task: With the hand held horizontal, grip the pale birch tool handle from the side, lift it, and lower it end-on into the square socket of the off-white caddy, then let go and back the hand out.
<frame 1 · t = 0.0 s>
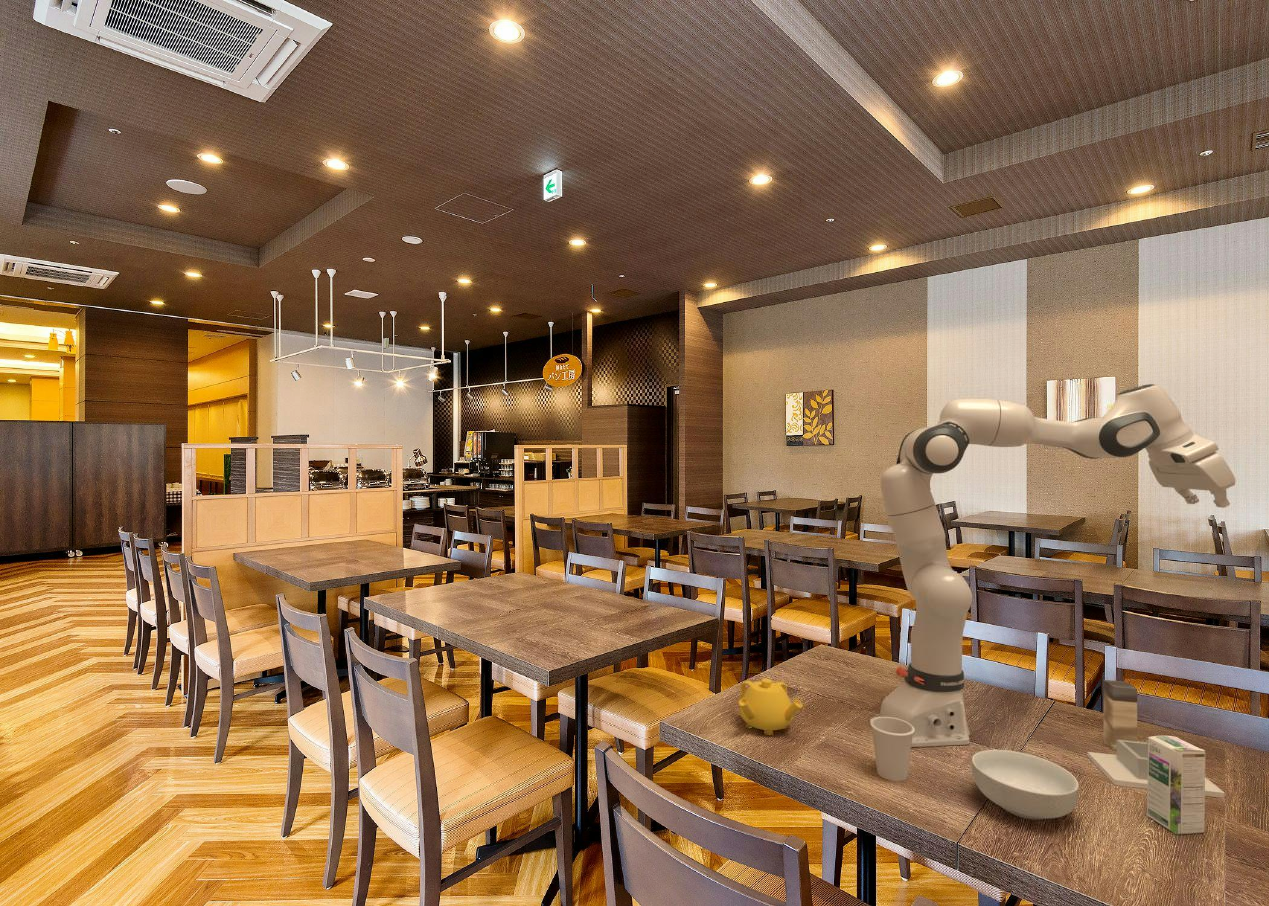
hand: (1208, 504, 138), 54 cm above the table, tool tilted 30°, fingers open, 8 cm apart
cereal bowl: (1023, 808, 115), on the table
dixie cup: (891, 775, 127), on the table
tool handle: (1120, 747, 139), on the table
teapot: (767, 729, 148), on the table
caddy: (1151, 776, 126), on the table
syrup box: (1175, 825, 110), on the table
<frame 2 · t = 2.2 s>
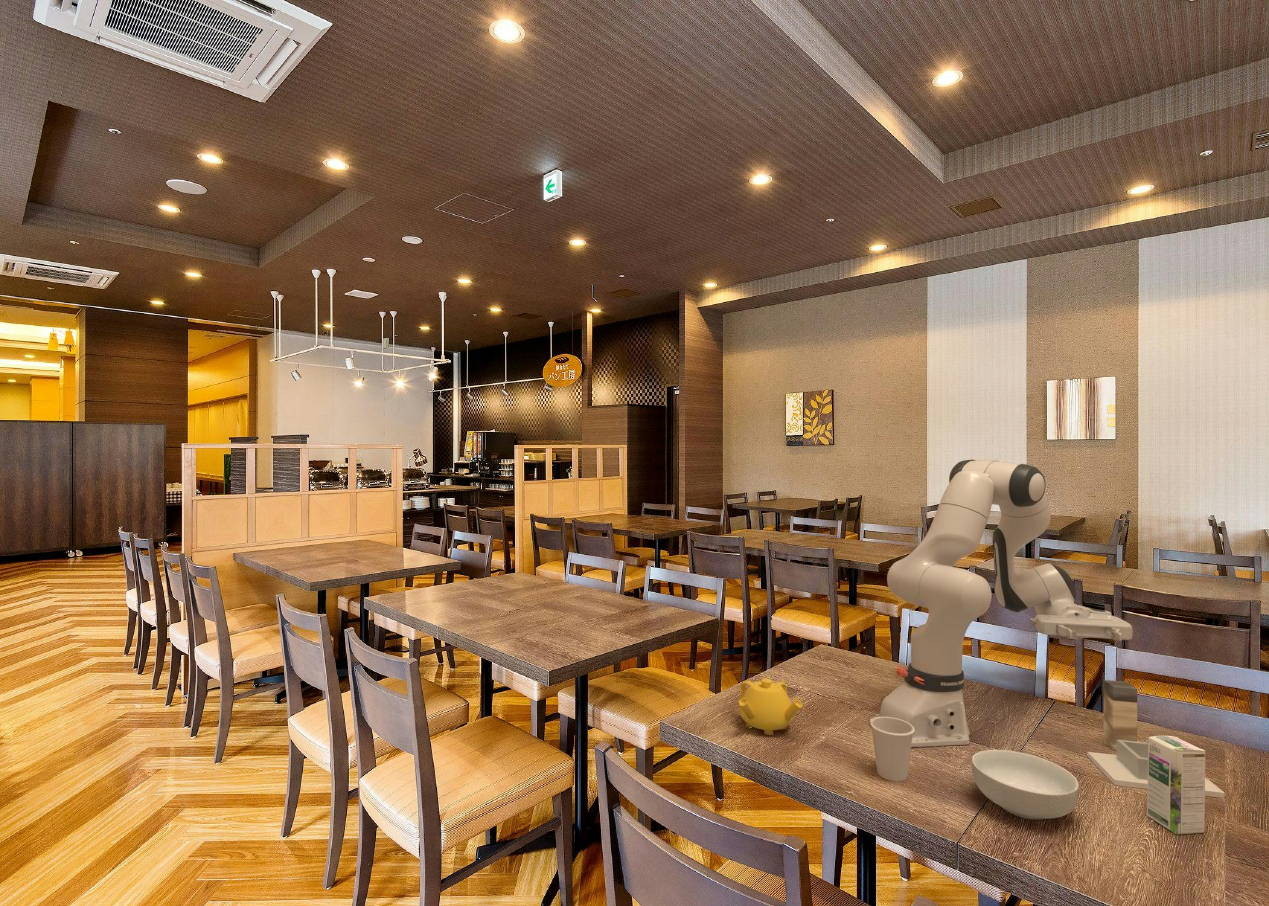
hand: (1095, 636, 151), 21 cm above the table, tool horizontal, fingers open, 8 cm apart
nothing on the table moved.
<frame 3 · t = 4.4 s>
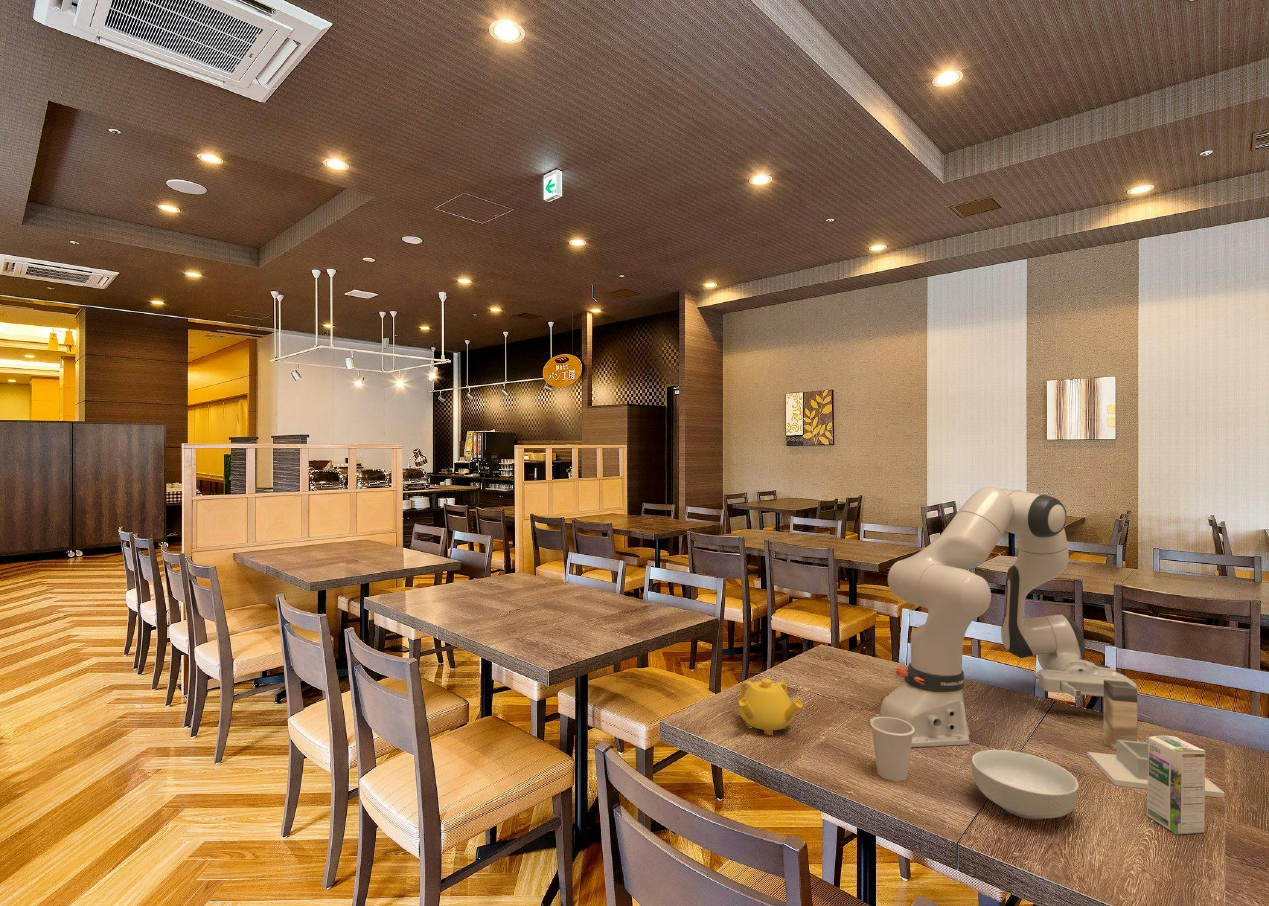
hand: (1100, 696, 148), 8 cm above the table, tool horizontal, fingers open, 8 cm apart
nothing on the table moved.
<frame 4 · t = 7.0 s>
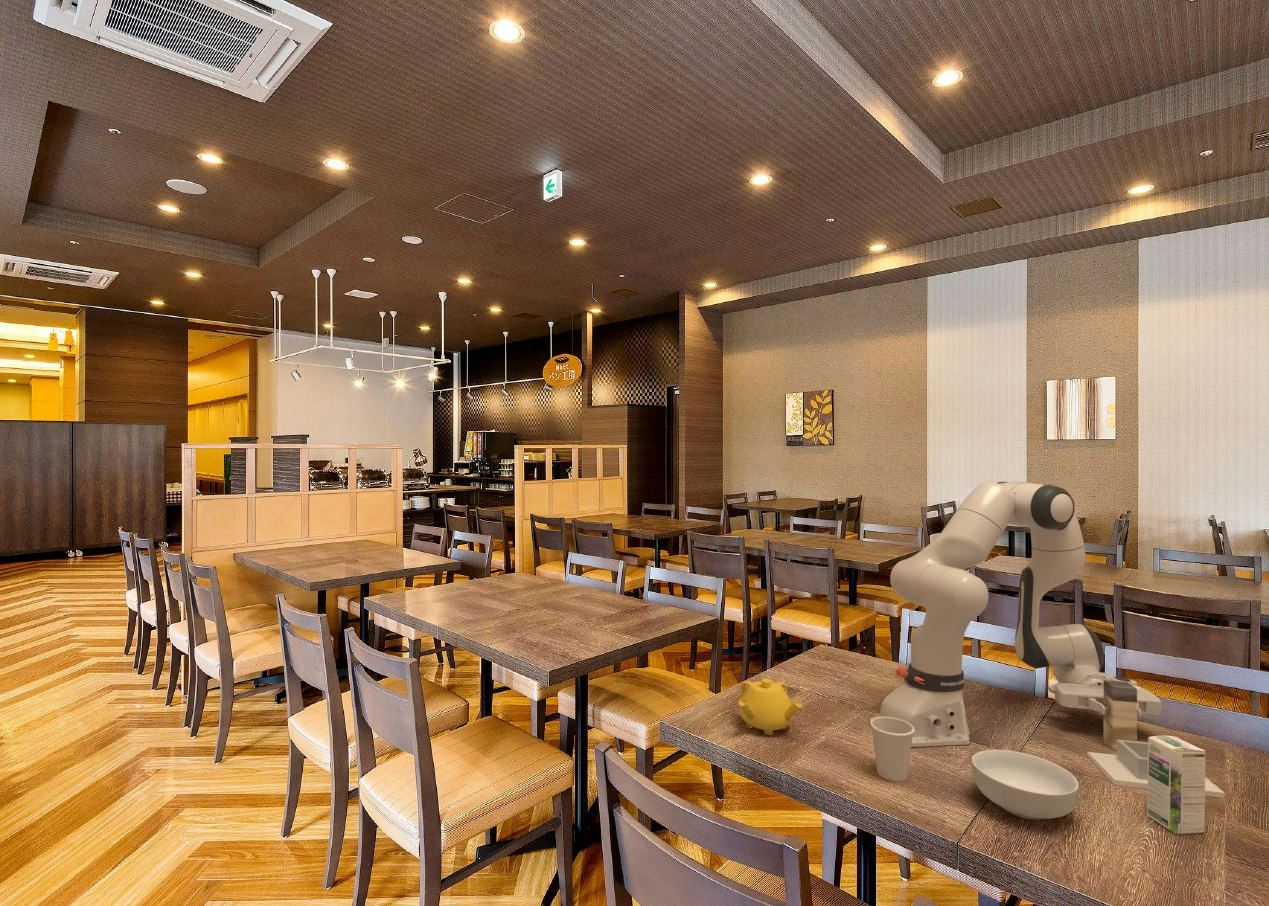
hand: (1122, 712, 138), 8 cm above the table, tool horizontal, fingers closed on tool handle, 4 cm apart
tool handle: (1120, 747, 139), on the table, touching gripper
everything else where it was.
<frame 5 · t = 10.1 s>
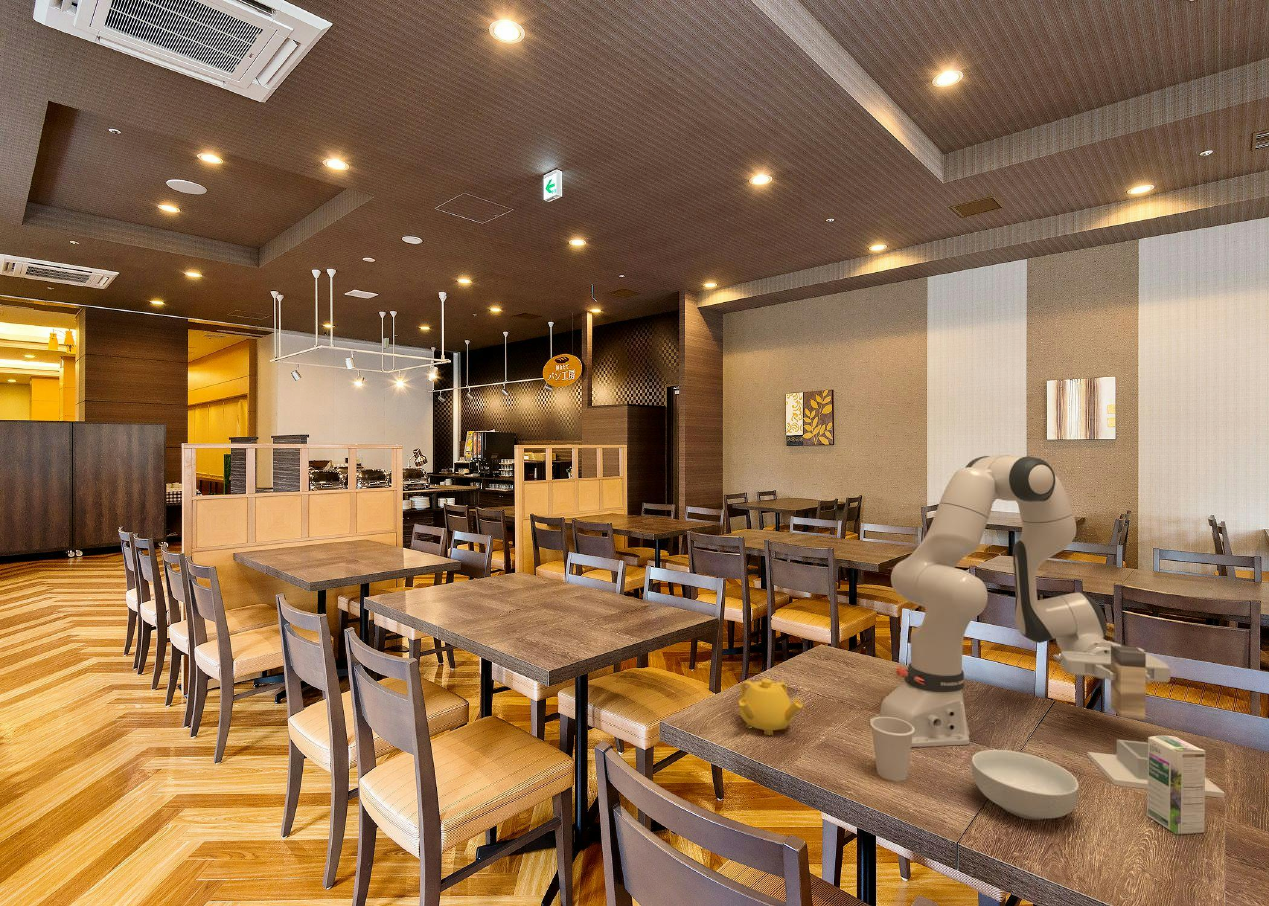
hand: (1130, 678, 135), 17 cm above the table, tool horizontal, fingers closed on tool handle, 4 cm apart
tool handle: (1127, 714, 136), point 9 cm above the table, touching gripper
everything else where it was.
when the fingers open (10 cm above the table, at t = 13.0 s): tool handle stays where it is, resting on caddy.
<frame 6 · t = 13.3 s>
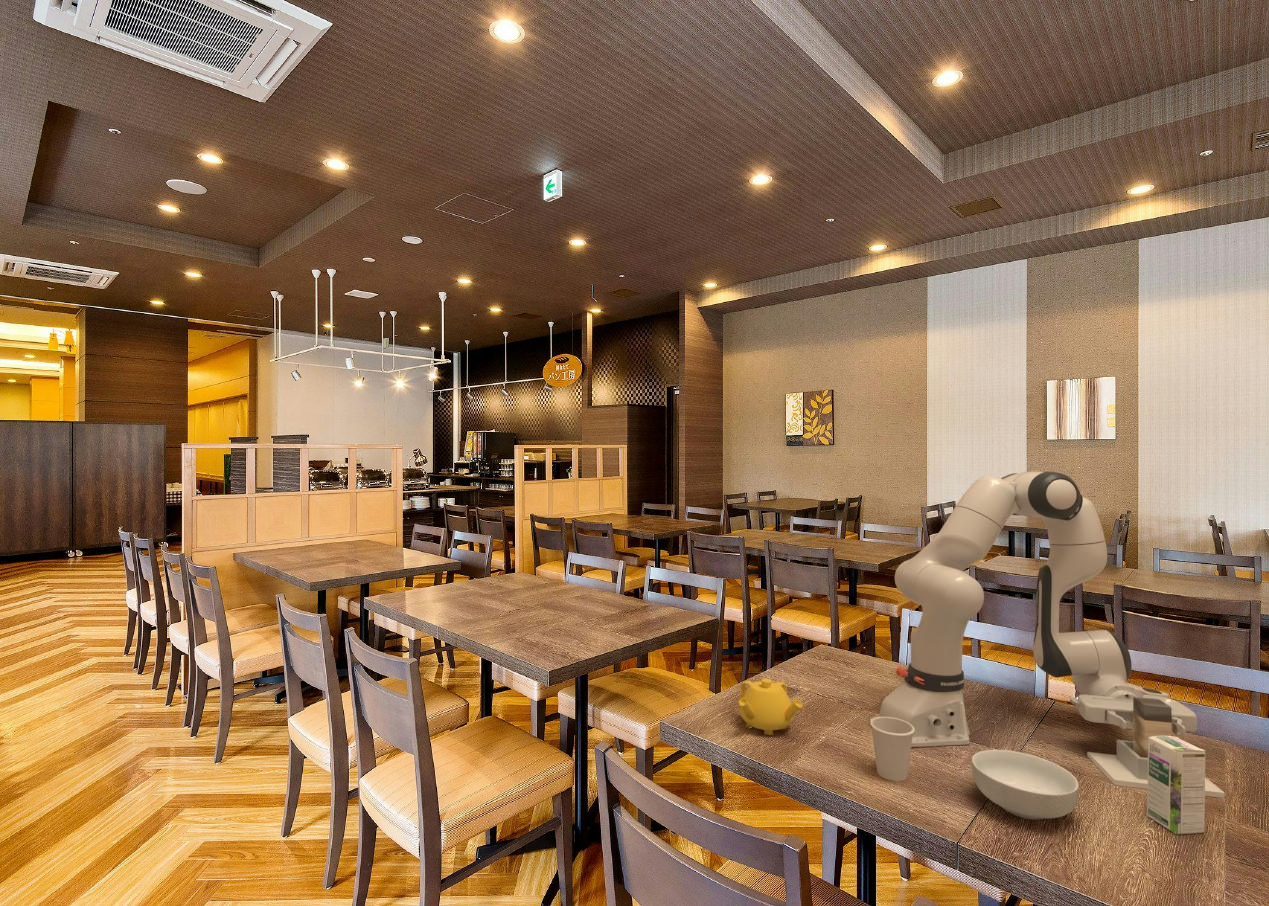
hand: (1154, 728, 125), 10 cm above the table, tool horizontal, fingers open, 8 cm apart
tool handle: (1151, 771, 126), point 1 cm above the table, touching caddy
everything else where it was.
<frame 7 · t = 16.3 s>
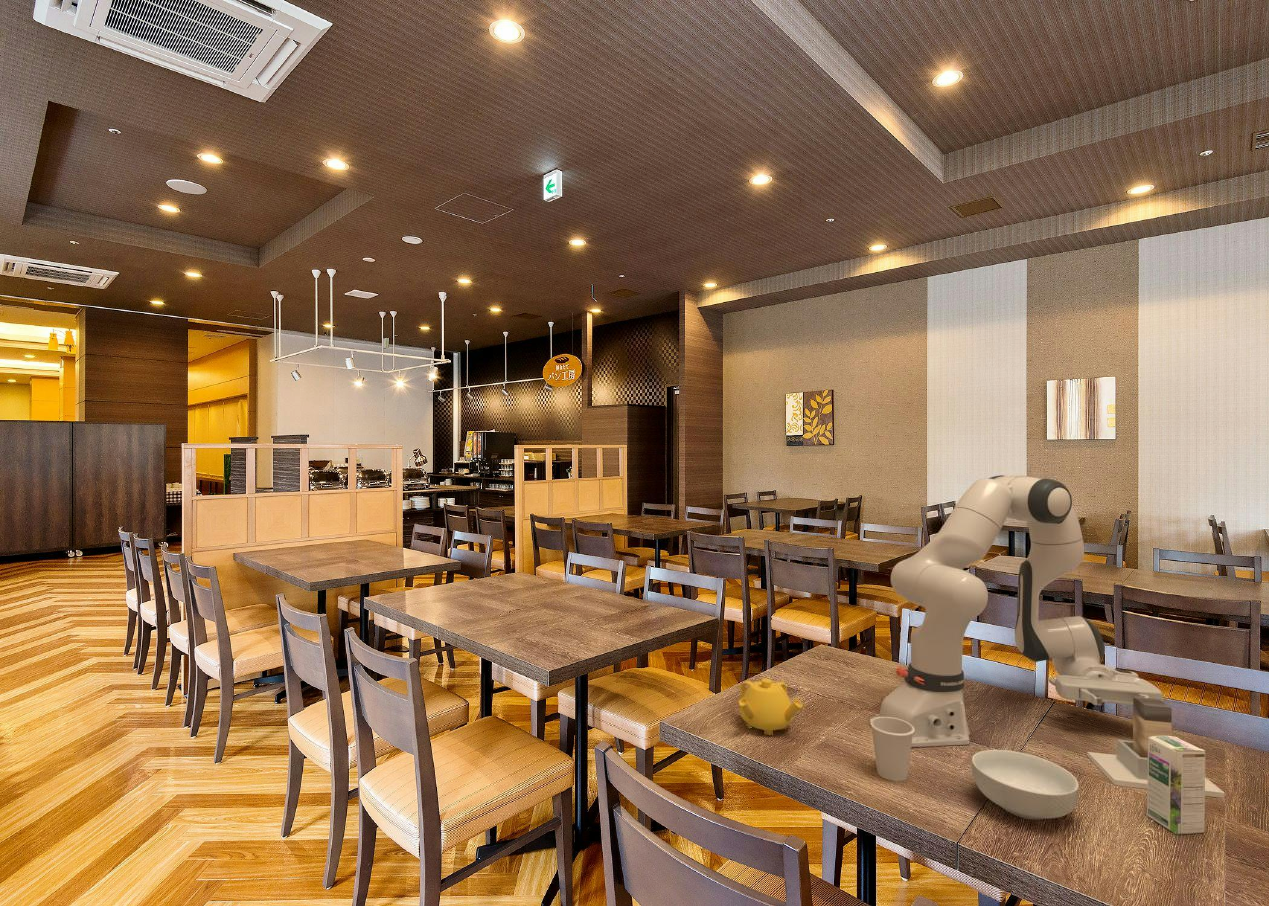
hand: (1122, 704, 138), 10 cm above the table, tool horizontal, fingers open, 8 cm apart
nothing on the table moved.
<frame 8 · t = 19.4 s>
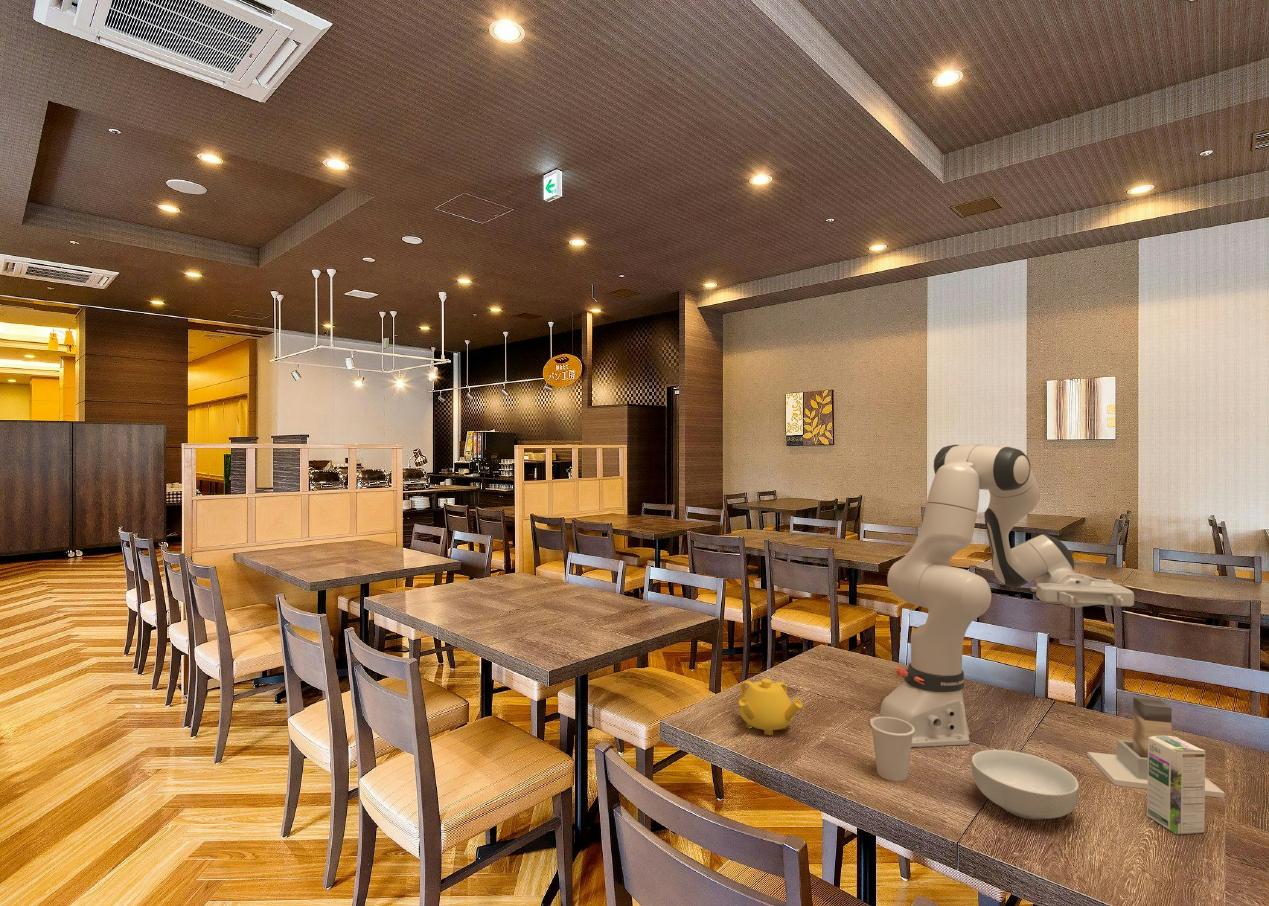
hand: (1097, 601, 149), 30 cm above the table, tool horizontal, fingers open, 8 cm apart
nothing on the table moved.
at the end: tool handle 0.0 cm off-centre on the caddy, point 1.0 cm above the caddy's base; tool handle tilted 0°; the gripper is holding nothing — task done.
